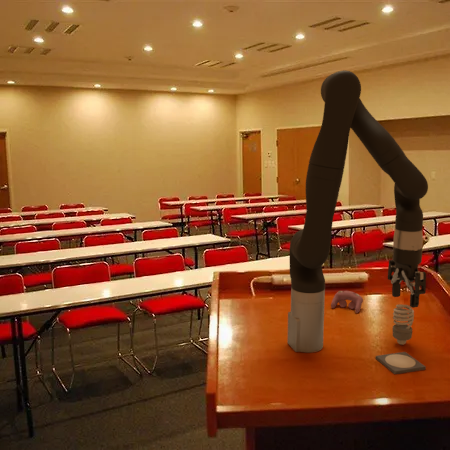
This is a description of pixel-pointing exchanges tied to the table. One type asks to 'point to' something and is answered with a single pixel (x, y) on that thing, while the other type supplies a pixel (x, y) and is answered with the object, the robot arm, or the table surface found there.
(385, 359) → the pad
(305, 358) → the table surface
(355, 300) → the video game controller
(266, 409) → the table surface
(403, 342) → the light bulb
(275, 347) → the table surface
